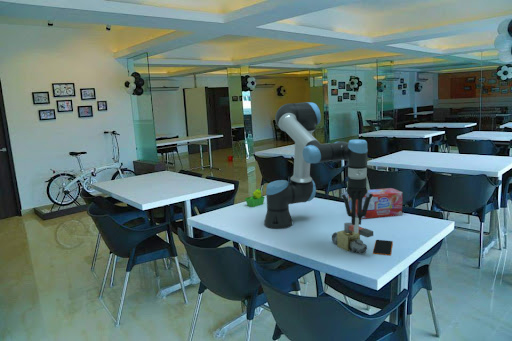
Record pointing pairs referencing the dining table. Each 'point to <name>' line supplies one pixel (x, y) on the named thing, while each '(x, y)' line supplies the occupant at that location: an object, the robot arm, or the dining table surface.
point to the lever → (362, 231)
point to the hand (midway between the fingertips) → (356, 231)
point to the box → (381, 203)
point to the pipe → (349, 242)
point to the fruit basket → (255, 199)
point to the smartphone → (383, 247)
